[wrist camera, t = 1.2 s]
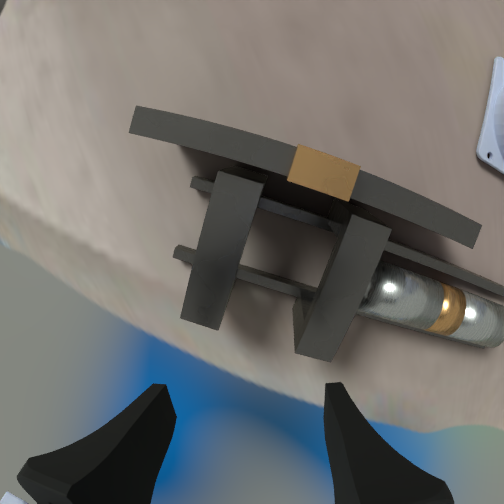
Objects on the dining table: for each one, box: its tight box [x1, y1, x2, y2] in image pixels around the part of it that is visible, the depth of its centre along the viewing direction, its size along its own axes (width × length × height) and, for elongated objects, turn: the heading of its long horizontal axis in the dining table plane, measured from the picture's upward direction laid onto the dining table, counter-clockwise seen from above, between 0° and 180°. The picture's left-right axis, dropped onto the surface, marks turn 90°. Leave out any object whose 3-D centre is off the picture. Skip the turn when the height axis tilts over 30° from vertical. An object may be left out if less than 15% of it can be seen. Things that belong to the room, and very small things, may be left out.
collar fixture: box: [129, 106, 504, 362], centre depth 16 cm, size 26×9×7 cm, turn 73°
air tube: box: [357, 260, 504, 348], centre depth 18 cm, size 12×3×3 cm, turn 73°
